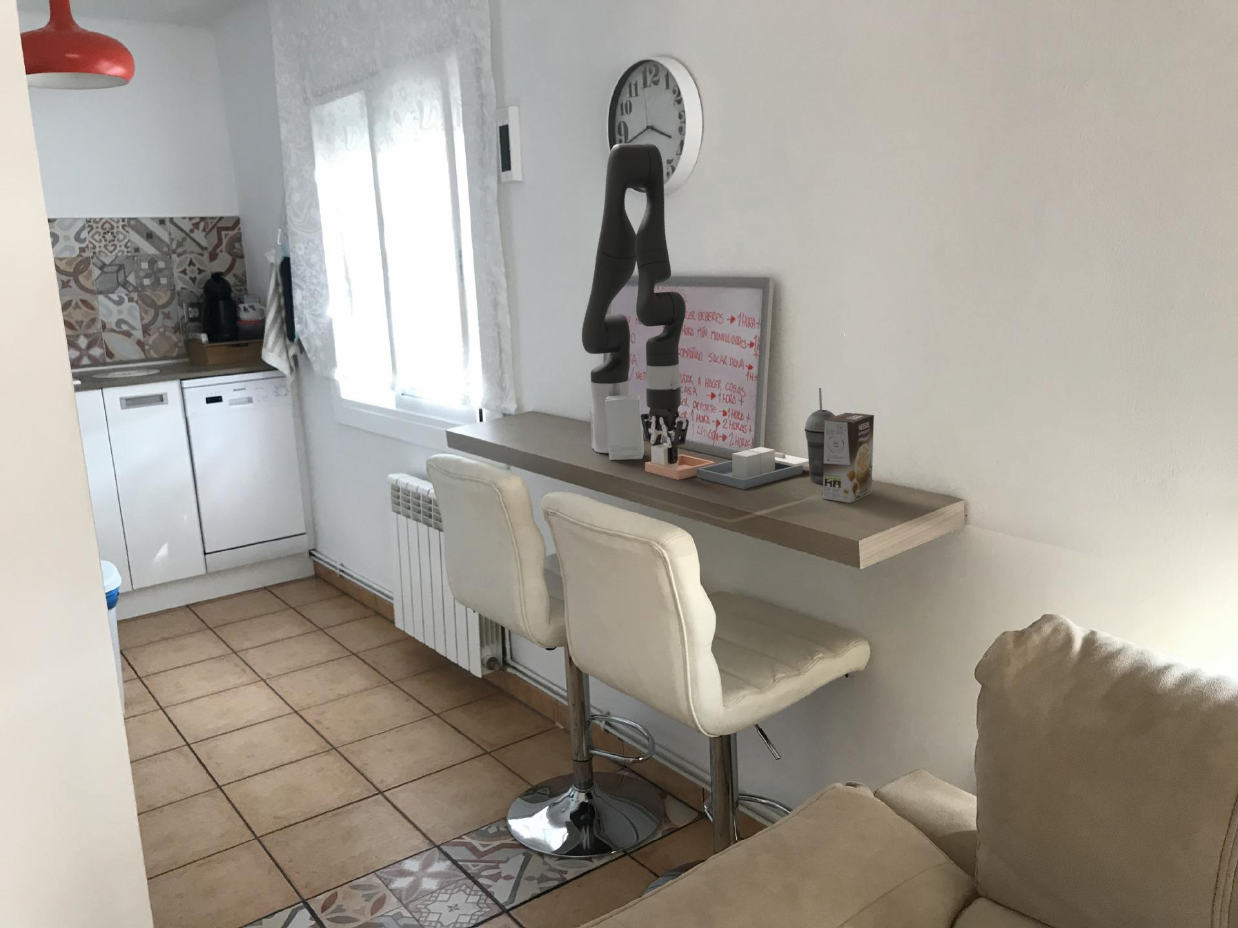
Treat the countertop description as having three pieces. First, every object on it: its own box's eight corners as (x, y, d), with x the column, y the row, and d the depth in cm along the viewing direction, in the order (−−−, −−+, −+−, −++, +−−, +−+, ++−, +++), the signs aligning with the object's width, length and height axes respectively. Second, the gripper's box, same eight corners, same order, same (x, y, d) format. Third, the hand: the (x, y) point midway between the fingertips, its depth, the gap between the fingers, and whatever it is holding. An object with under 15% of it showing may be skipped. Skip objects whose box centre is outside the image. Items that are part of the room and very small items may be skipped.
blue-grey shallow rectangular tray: (695, 479, 213) (695, 462, 212) (762, 463, 225) (762, 446, 225) (744, 492, 202) (744, 473, 201) (811, 473, 214) (811, 456, 213)
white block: (651, 468, 219) (651, 446, 218) (666, 465, 222) (665, 443, 221) (664, 471, 216) (663, 449, 215) (678, 468, 219) (677, 445, 218)
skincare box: (644, 454, 239) (642, 393, 235) (642, 460, 233) (640, 398, 229) (609, 454, 239) (607, 394, 236) (607, 460, 234) (604, 398, 230)
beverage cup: (813, 489, 202) (814, 392, 197) (798, 481, 209) (798, 387, 204) (845, 485, 204) (847, 390, 199) (829, 477, 211) (830, 384, 206)
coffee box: (851, 503, 191) (853, 422, 187) (822, 499, 195) (823, 419, 191) (872, 493, 198) (874, 414, 194) (843, 488, 202) (844, 411, 198)
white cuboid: (732, 476, 212) (732, 453, 211) (746, 472, 215) (746, 450, 214) (746, 479, 209) (746, 456, 208) (760, 476, 212) (760, 453, 211)
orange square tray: (645, 473, 220) (644, 462, 219) (681, 465, 227) (681, 454, 226) (678, 482, 212) (678, 471, 211) (715, 473, 218) (715, 462, 218)
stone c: (747, 472, 215) (747, 450, 214) (760, 469, 218) (760, 446, 217) (761, 475, 212) (761, 453, 211) (774, 472, 215) (775, 449, 213)
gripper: (629, 384, 218) (631, 459, 222) (672, 390, 207) (674, 470, 211) (654, 380, 223) (657, 454, 226) (698, 386, 212) (699, 463, 216)
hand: (665, 461), depth 219 cm, fingers closed on white block, 4 cm apart
